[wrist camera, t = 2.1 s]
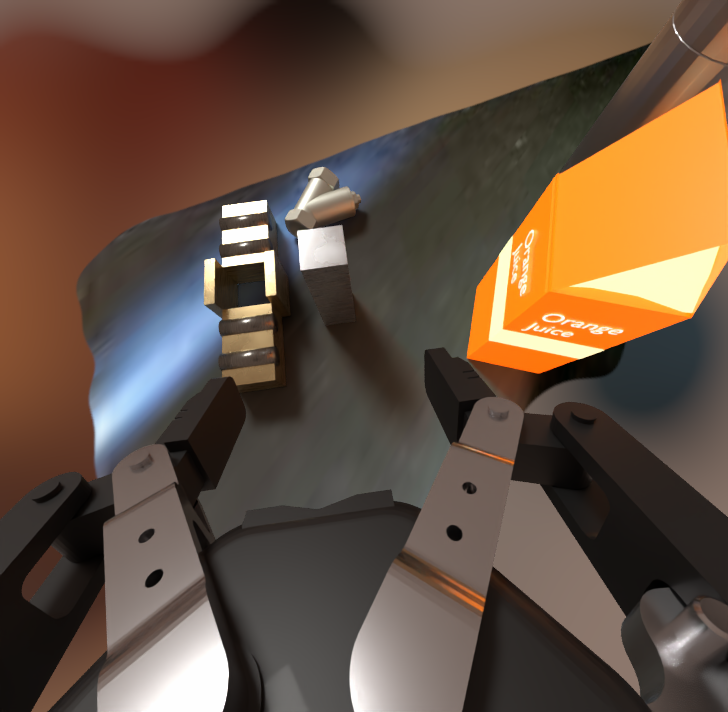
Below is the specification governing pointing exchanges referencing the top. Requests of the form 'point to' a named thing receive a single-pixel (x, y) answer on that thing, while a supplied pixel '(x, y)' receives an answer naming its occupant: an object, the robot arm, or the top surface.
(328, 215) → the pipe fitting
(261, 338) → the gold block with rollers
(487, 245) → the top surface
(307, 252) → the square grey block
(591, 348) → the orange juice
